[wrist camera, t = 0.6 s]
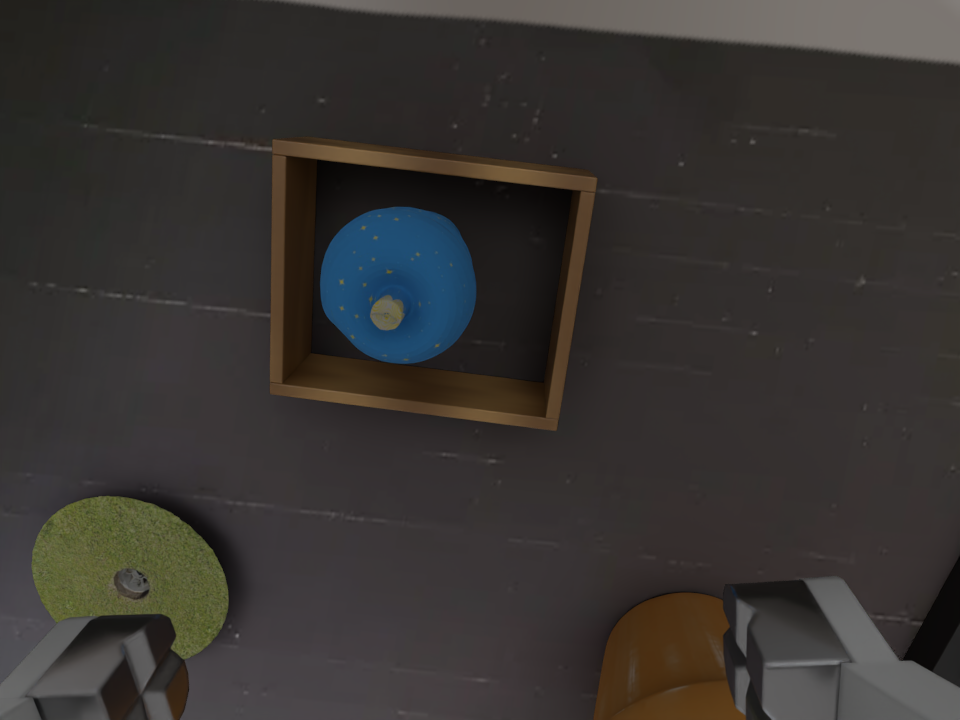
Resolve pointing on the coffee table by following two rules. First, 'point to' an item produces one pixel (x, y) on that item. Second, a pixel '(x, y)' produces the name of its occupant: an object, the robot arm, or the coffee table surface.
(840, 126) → the coffee table surface
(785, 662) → the robot arm
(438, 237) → the ornament
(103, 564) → the green flat round disc
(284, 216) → the wooden box
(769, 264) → the coffee table surface
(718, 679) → the flower pot
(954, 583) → the picture frame
